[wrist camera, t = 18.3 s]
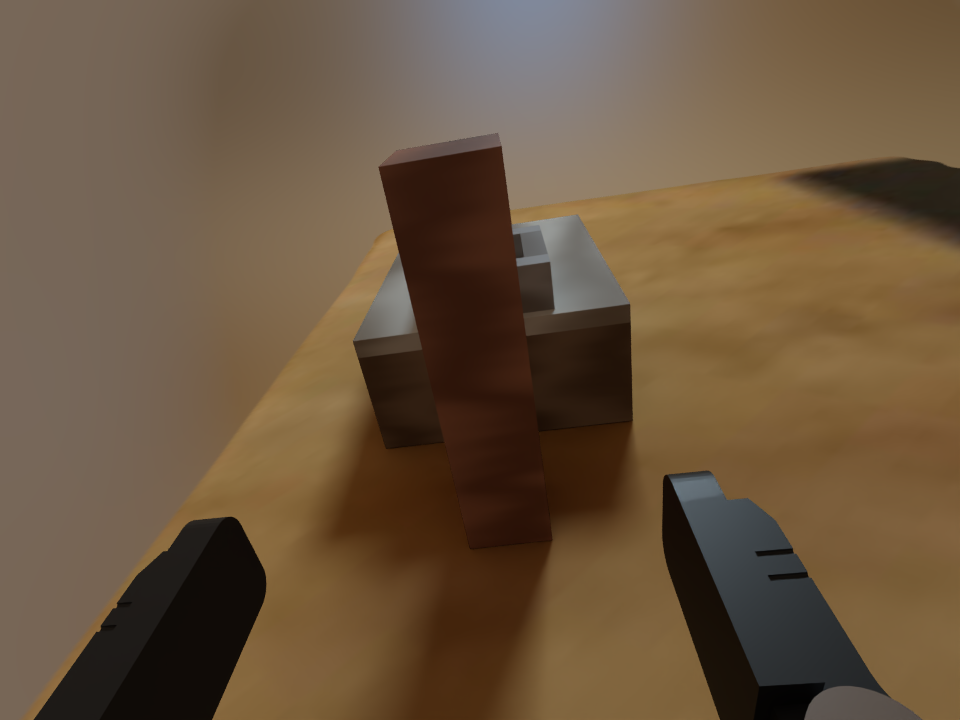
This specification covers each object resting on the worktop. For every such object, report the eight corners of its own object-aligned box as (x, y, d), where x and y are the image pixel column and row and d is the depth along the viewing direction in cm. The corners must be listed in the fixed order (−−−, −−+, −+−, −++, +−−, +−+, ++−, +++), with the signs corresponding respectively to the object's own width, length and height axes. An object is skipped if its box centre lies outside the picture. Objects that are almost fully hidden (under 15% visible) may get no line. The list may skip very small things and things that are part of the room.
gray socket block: (583, 296, 44) (575, 181, 40) (632, 420, 29) (629, 254, 24) (422, 318, 46) (397, 210, 41) (385, 448, 30) (338, 296, 26)
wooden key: (543, 482, 26) (498, 133, 18) (552, 540, 22) (501, 145, 15) (471, 490, 26) (396, 150, 18) (470, 548, 23) (378, 166, 15)
